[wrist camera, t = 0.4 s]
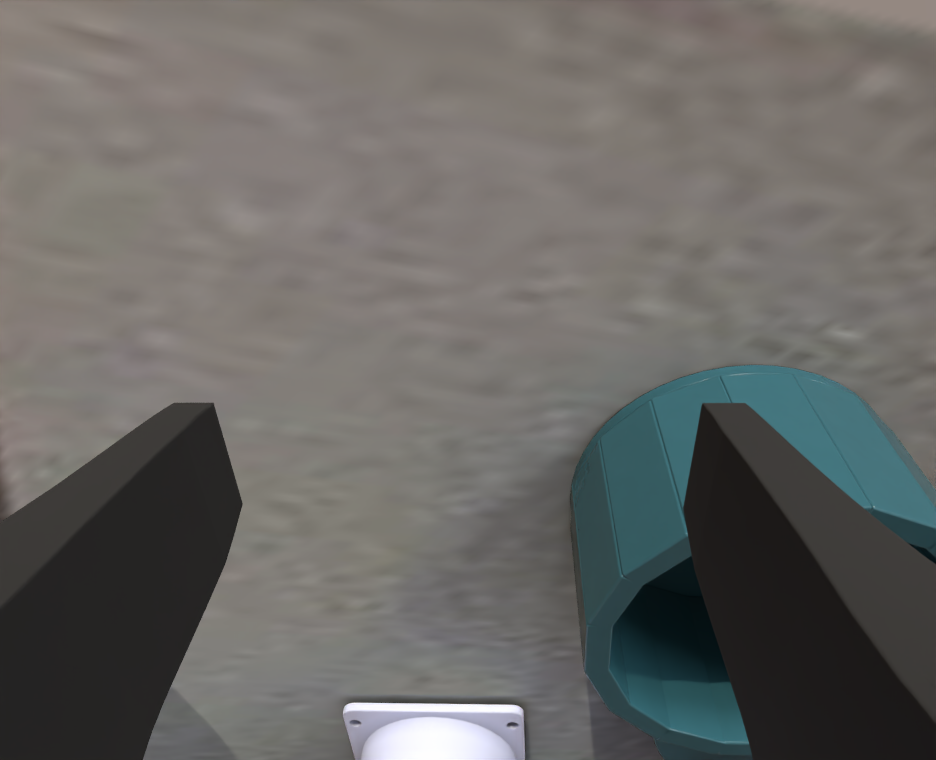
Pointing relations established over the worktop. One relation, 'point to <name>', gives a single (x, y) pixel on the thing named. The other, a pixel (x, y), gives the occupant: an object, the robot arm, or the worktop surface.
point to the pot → (667, 544)
